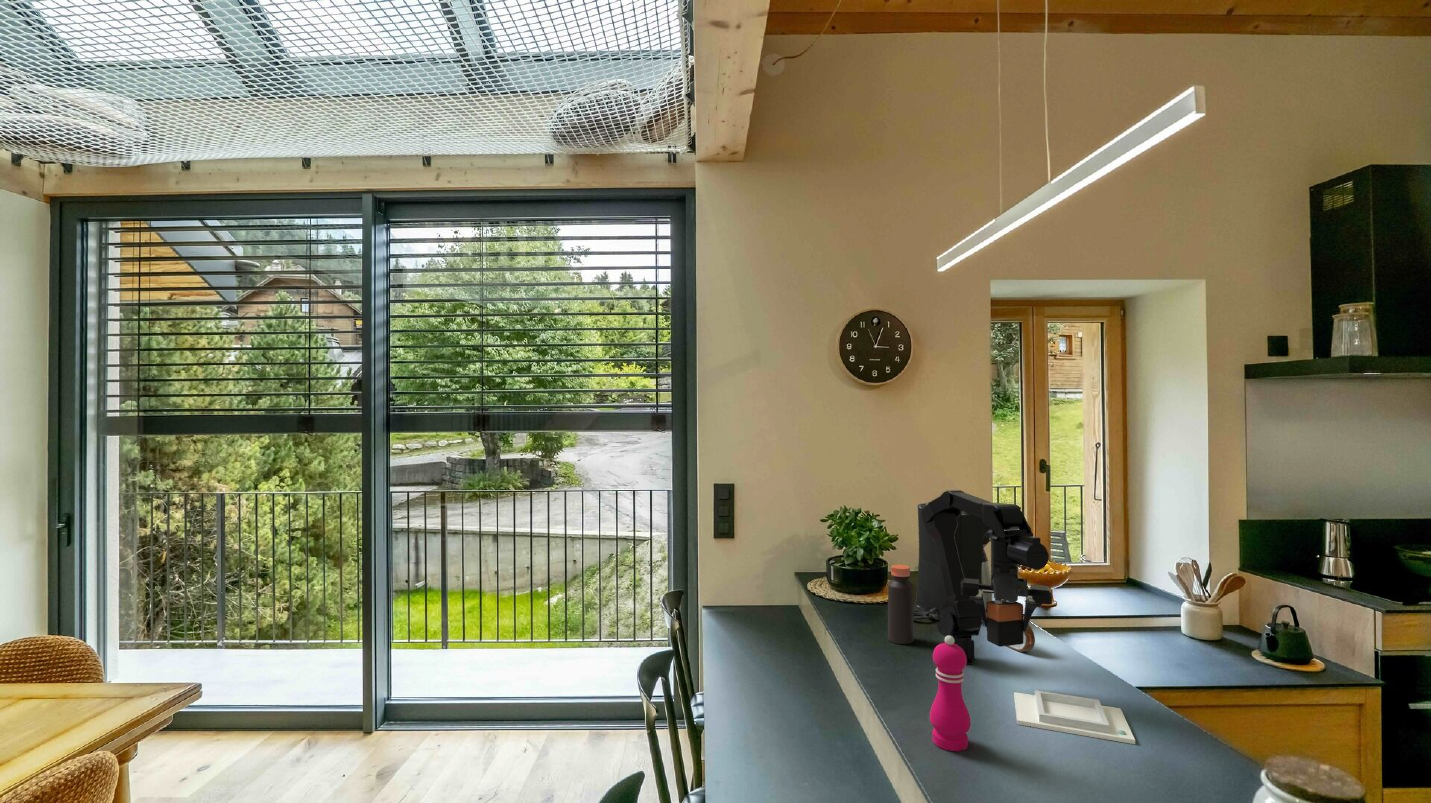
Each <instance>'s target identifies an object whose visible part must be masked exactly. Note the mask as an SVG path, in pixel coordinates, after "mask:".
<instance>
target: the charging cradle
mask: <svg viewBox="0 0 1431 803" xmlns="http://www.w3.org/2000/svg"><path fill="white" fill-rule="evenodd" d="M1013 698H1014V706H1015V716H1016V723H1017V725H1019V726H1025V727H1030V726H1031V727H1030V728H1035V729H1037V728H1038V729H1042V730H1047V731H1048V730H1049V731H1055V732H1061V733H1065V734H1066V733H1067V734H1072V735H1076V736H1077V735H1079V736H1084V737H1091V738H1095V739H1102V740H1109V741H1113V742H1120V743H1125V744H1130V745H1136V739H1135V737H1134V735H1133V733H1132V731H1131V728H1130V726H1129V724H1128V722H1127V720H1126V717H1125V715H1124V713H1123V711H1122V708H1119V707H1113V706H1107V705H1102V703H1101V701H1100V699H1098V698H1097V699H1096V698H1089V697H1082V696H1077V695H1070V694H1069V695H1068V694H1065V693H1064V694H1063V693H1056V692H1055V693H1054V692H1049V691H1042V690H1035V689H1034V694H1027V693H1022V692H1013Z"/></svg>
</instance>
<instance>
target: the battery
mask: <svg viewBox="0 0 1431 803" xmlns="http://www.w3.org/2000/svg"><path fill="white" fill-rule="evenodd" d="M1023 619H1024V604H1023V603H1022V602H1019V601H1015V602H1012V601H1010V600H996V599H995V598H994V600H992V601H988V602H987V630H986V641H988V642H989V643H991V644H993V645H996V646H997V647H999V648H1000V647H1001V648H1002V647H1007V646H1011V645H1020V644H1023Z"/></svg>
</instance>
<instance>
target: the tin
mask: <svg viewBox="0 0 1431 803" xmlns="http://www.w3.org/2000/svg"><path fill="white" fill-rule="evenodd" d="M1023 620H1024V618H1023ZM985 629H986V631H987V627H985ZM1035 643H1036V637H1035V633H1034V630H1033V628H1032V626H1031V625H1030V624H1029V623H1028V626H1027V629H1026V631H1025V632H1024V631H1023V644H1020V645H1011V646H1006V647H1007V648H1009V649H1011V650H1013V651H1015V650H1016V652H1018V651H1019V652H1020V653H1021V652H1028V651H1031V650H1032V649H1033V648H1034V647H1035ZM1019 652H1018V653H1019Z"/></svg>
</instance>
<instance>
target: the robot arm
mask: <svg viewBox="0 0 1431 803" xmlns="http://www.w3.org/2000/svg"><path fill="white" fill-rule="evenodd" d="M927 503H928V502H927ZM962 511H964V512H966V513H969V514H971V515H974V516H976V517H979V518H980V519H981V520H982V523H983V524H984V525H986V526H987V527H989V528H990V530H989V531H987V532H986V533H985V536H986V537H990V538H991V541H990V573H991V585H987V584H979V579H968V578H964V575H963V571H962V567H961V563H960V559H959V555H958V551H957V546H956V542H955V538H954V535H955V532H956V529H957V526H958V523H957V518H958V517H959V516H960V515H961V513H962ZM921 515H922V519H923V522H924V525H925V528H926V530H927V531H928V533H929V534H930V535H931V536H932V537H933V538H934V540H935V543H936V548H937V552H938V557H939V561H940V565H941V570H942V574H943V578H944V583H945V587H946V592H947V599H946V602H945V605H944V615H945V616H944V617H943V618H942V619H941V620H940V621H939V620H938V622H937V624H936V625H937V630H938V631H937V632H938V633H939V634H941V635H942V636H944V638H945V637H946V636H952V637H953V638H954V641H955V642H954V644H956V645H958V646H959V647H961V648H962V649H963V651H964V652H965V654H966V658H967V664H966V665H973V661H974V660H975V653H976V652H975V640H974V639H973V636H979V635H980V631H981V627H982V625H983V624H984V625H983V626H984V628H986V627H987V615H986V608H985V601H984V594H983V593H992V595H993V598H994V600H995V599H996V600H1010V601H1012V602H1015V601H1016V602H1018V600H1019V598H1018V597H1023V598H1025V604H1024V610H1023V619H1024V620H1023V631H1024V632H1025V631H1026V629H1027V626H1028V624H1029V623H1030V620H1031V618H1032V615H1033V614H1034V612H1035V610H1036V609H1037V608H1042V607H1043V605H1053V594H1052V590H1051V588H1050V587H1049V586H1048V585H1041V584H1032V583H1031V584H1030V588H1028V579H1027V578H1020V577H1019V571H1020V570H1019V566H1022V567H1024V568H1028V569H1030V570H1034V571H1039V570H1042V569H1044V568H1045V567H1046V565H1047V564H1048V561H1049V559H1050V557H1049V556H1050V555H1049V552H1048V549H1047V547H1046V546H1045V545H1044V544H1042V543H1041V537H1038V536H1034V533H1033V531H1032V528H1031V526H1030V525H1029V523H1028V521H1027V518H1026V516H1025V515H1024V513H1023V511H1022V509H1021V507H1020V506H1019V505H1018V504H1016V503H1006V502H1005V503H1004V502H991V501H989V500H986V499H983V498H980V497H978V496H974V495H972V494H969V493H968V492H967V493H966V492H965V491H964V490H961V489H956V490H955V489H953V490H946V491H944V492H942V494H940V496H938V497H936V498H935V499H933V500H931V501H930V502H929V503H928V504H927V505H926V506H925V508H924V509H923V511H922V514H921Z"/></svg>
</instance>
